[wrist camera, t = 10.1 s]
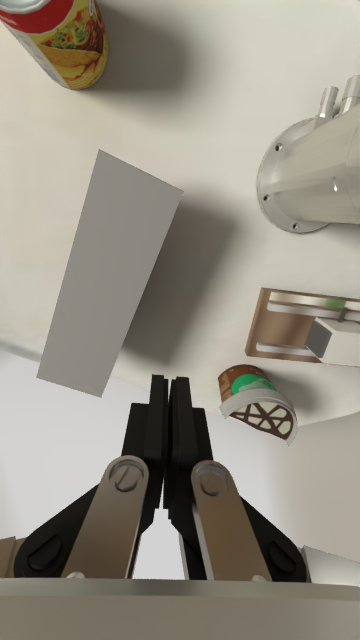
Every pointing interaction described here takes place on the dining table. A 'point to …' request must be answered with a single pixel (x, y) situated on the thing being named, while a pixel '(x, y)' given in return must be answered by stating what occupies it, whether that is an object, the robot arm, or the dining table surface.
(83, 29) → the canned food
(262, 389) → the food container
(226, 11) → the dining table surface
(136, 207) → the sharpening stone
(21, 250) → the dining table surface
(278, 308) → the gauge board
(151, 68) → the dining table surface
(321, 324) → the gauge carriage
